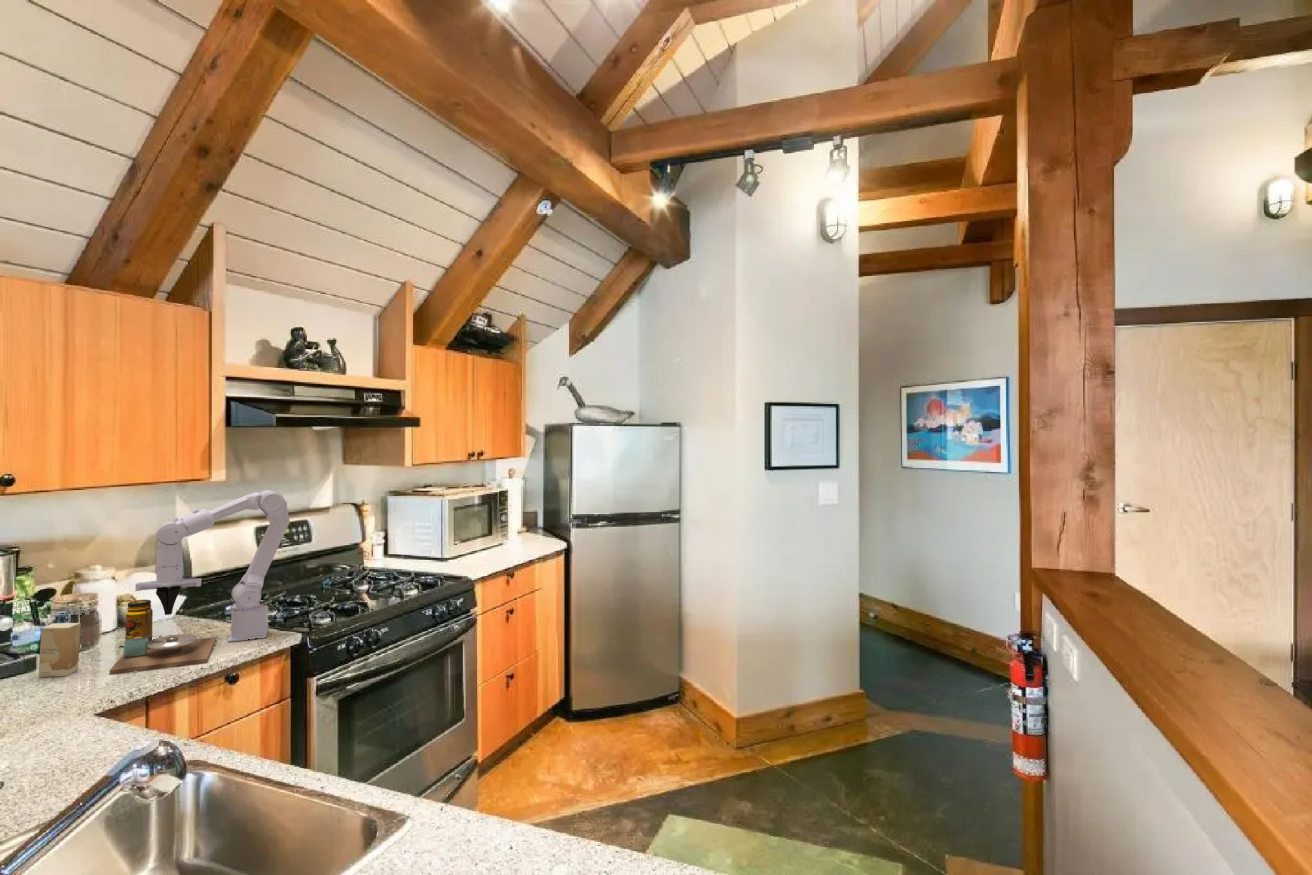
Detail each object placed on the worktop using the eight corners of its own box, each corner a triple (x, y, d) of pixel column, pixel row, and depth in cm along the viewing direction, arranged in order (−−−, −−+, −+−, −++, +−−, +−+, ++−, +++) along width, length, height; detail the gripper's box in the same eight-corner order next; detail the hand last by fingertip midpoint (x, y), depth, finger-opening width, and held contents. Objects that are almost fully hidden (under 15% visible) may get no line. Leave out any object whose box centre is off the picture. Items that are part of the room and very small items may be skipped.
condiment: (118, 647, 179) (119, 605, 179) (132, 638, 187) (133, 597, 187) (149, 645, 181) (149, 603, 181) (162, 636, 189) (163, 596, 189)
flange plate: (199, 641, 180) (200, 627, 180) (193, 653, 171) (193, 638, 171) (130, 649, 173) (130, 634, 173) (119, 662, 163) (119, 646, 163)
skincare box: (37, 677, 156) (38, 627, 156) (50, 671, 160) (51, 622, 160) (68, 676, 157) (69, 627, 157) (80, 670, 162) (81, 621, 162)
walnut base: (216, 640, 186) (217, 622, 186) (206, 662, 168) (207, 642, 168) (129, 650, 176) (129, 630, 176) (109, 674, 159) (109, 652, 159)
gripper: (133, 570, 171) (132, 620, 171) (199, 566, 178) (197, 614, 178) (139, 565, 177) (138, 614, 177) (202, 561, 184) (201, 608, 184)
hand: (168, 613), depth 178 cm, fingers closed
